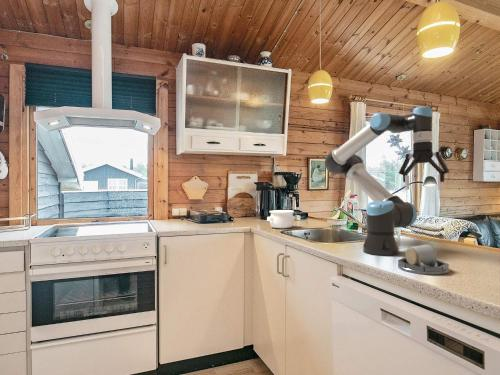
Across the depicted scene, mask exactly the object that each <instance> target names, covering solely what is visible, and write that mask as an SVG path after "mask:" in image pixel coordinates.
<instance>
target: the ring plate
mask: <svg viewBox="0 0 500 375" xmlns="http://www.w3.org/2000/svg"><path fill="white" fill-rule="evenodd" d="M436 262H437V267H434V266H435V265H432V266H430V267H423V266H417V265H411V264H409V263H408V262H407V260H406V256H403V258H399V259H398V260H397V268H398V269H399V270H401V271H404V272H407V273H410V274H411V273H412V274H415V275H416V274H417V275H423V276H424V275H425V276H442V275H443V274H444V275H447V274H449V272H450V268H449V265H450V264H449V263H447V262H445V261H444V260H443V261H442V260H440V259H437V260H436Z"/></svg>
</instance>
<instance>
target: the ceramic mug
mask: <svg viewBox="0 0 500 375" xmlns="http://www.w3.org/2000/svg"><path fill="white" fill-rule="evenodd" d="M404 255H405V256H404V257H406V260H407V262H408V263H409V264H411V265H417V266H423V267H430V266H432V265H435V266H434V267H437V262H436V260H438V257H437V252H436V250H435V248H433V247H432V245H430V244H422V245H414V246H410V247H408V248H407V249H406V250H405V254H404Z"/></svg>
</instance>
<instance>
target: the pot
mask: <svg viewBox="0 0 500 375" xmlns="http://www.w3.org/2000/svg"><path fill="white" fill-rule="evenodd" d="M294 212H295V211H294V210H292V209H291V210H289V209H277V210H276V209H275V210H269V212H268V213H270V216H267V217H266V221H267V222H269V224H270V227H271V228H274V229H290V228H292V227H293V225H294V221H295V220H296V216H295V215H293V214H294Z"/></svg>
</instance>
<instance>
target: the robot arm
mask: <svg viewBox="0 0 500 375" xmlns="http://www.w3.org/2000/svg"><path fill="white" fill-rule="evenodd" d="M369 120H370V121H369V123H368V124H367V125H366V126H364V127H362V129H361V130H360V131H358V132H357V133H356V134H354V135H353V136H352V137H350V139H348V140H346V141H345V142H344V143H343V144H342V145H340V146H339V147H337V148H334V149H332V150H331V151H330V152H329V153H328V154H327V155H326V157H325V160H324V167H325V169H326V170H327V171H328V172H329V173H331V174H334V175H343V176H344V177H345V178H346V179H347V180H348V181H353V182H354V183H355V184H356V185H357V186H358V187H359V189H361V190H362V191H363V192H364V193H365V194H366V195H367V196H368V197H369V198H370V199H371V201H372V202H369V203H368V204H367V205H366V211H365V212H366V236H365V240H364V243H363V246H362V248H363V249H362V252H363V253H364V254H368V255H374V256H396V255H398V254H399V246H398V244H397V241H396V238H395V229H396V228H407V227H410V226H412V225H414V224H415V223H416V221H417V218H418V210H417V208H416V206H415V205H414V204H413V203H411V202H408V201H406V202H405V201H404V200H403V199H402V198H401V197H400V196H398V195H392V194H391V193H390V191H388V190H387V189H386V188H385V187H384V186H383V185H382V184H381V183H380V182H379V181H378V180H377V179H376V178H375V177H374V176H373V175H371V173H369V172H368V171H367V170H366V168H365V163H364V160H363V158H362V157H361V156H360V155H359V154H357V153H358V152H359V151H361V150H362V149H363V148H365V147H367V146H368V145H369V144H370V143H371V142H373V141H375V139H377V138H378V137H380V136H381V135H383V134H384V133H385V132H388V131H389V132H390V133H391V134H400V133H406V132H411V131H412V132H413V133H412V139H413V140H412V141H413V142H414V143H413V144H412V145H413V147H412V150H413V151H412V153H406V154H405V159H404V161H403V162H402V164H401V167H400V168H399V171H398V174H399V175H402V182H403V183H404V186H405V187H404V188H405V190H406V191H407V190H410V175H409V174H410V172H411V171H412V170H413V169H414V167H415V166H416V165H418V164H423V163H424V164H425V163H426V164H427V163H429V165H431V166H432V167H433V168H434V169H435V170H436V171H437V172H438V173H439V174H437V190H438V191H439V190H440V191H441V190H443V189H442V188H443V183H444V182H445V174H449V173H450V170H449V168H448V166H447V165H446V163H445V161H444V159H443V157H442V154H441V152H440V151H435V152H433V109H432V108H431V106H427V105H426V106H425V105H424V106H417V107H415V108H413V110H412V113H410V114H405V115H401V114H400V115H399V114H392V113H386V112H377V113H374V114H373V115H372V116H371V118H370V119H369ZM433 157H435V158H436V160H437V161H438V163H439V165H440V166H441V167H440V166H439V165H438V164H437V163H436V162H435V161H434V160H433V159H432V158H433ZM412 158H413V160H412V161H411V159H412ZM410 161H411V162H410ZM409 163H410V164H409ZM408 165H409V166H408Z"/></svg>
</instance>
